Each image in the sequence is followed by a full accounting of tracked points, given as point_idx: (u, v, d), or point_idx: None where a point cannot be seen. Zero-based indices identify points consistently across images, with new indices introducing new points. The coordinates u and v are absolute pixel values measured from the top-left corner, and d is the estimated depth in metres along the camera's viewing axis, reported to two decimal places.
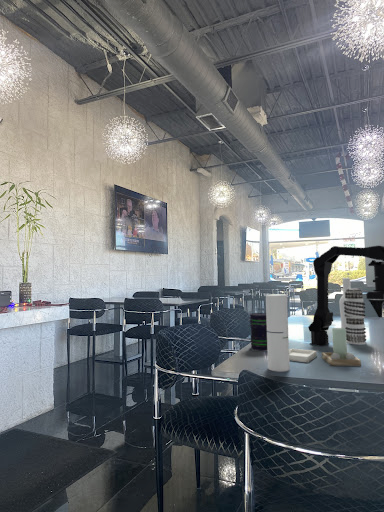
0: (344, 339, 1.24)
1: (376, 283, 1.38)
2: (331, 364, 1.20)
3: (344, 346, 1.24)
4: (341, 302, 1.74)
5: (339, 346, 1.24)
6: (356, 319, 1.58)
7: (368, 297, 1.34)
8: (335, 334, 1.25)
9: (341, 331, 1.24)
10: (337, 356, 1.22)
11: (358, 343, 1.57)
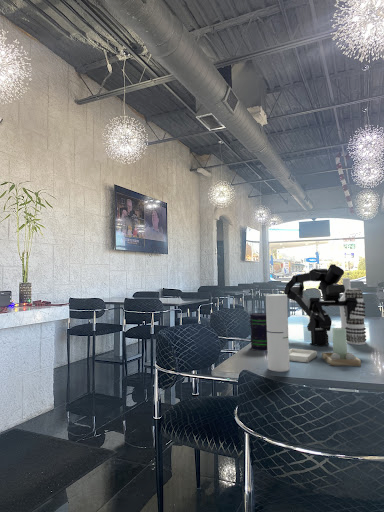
0: (344, 339, 1.24)
1: None
2: (331, 364, 1.20)
3: (344, 346, 1.24)
4: None
5: (339, 346, 1.24)
6: (356, 319, 1.58)
7: (308, 308, 1.47)
8: (335, 334, 1.25)
9: (341, 331, 1.24)
10: (337, 356, 1.22)
11: (358, 343, 1.57)
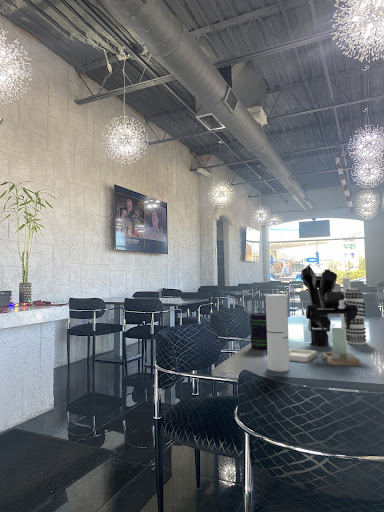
0: (344, 339, 1.24)
1: None
2: (331, 364, 1.20)
3: (344, 346, 1.24)
4: (341, 302, 1.74)
5: (339, 346, 1.24)
6: (356, 319, 1.58)
7: (306, 316, 1.39)
8: (335, 334, 1.25)
9: (341, 331, 1.24)
10: (337, 356, 1.22)
11: (358, 343, 1.57)
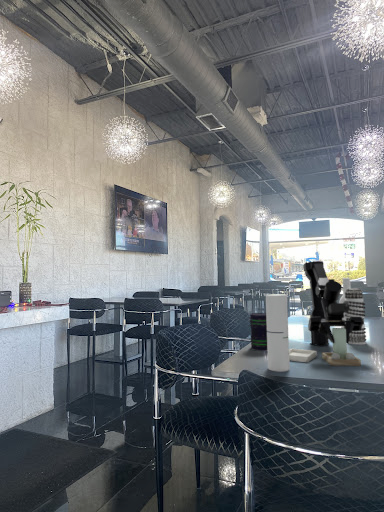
0: (344, 339, 1.24)
1: None
2: (331, 364, 1.20)
3: (344, 346, 1.24)
4: (341, 302, 1.74)
5: (339, 346, 1.24)
6: None
7: (309, 328, 1.33)
8: (335, 334, 1.25)
9: (341, 331, 1.24)
10: (337, 356, 1.22)
11: (358, 343, 1.57)
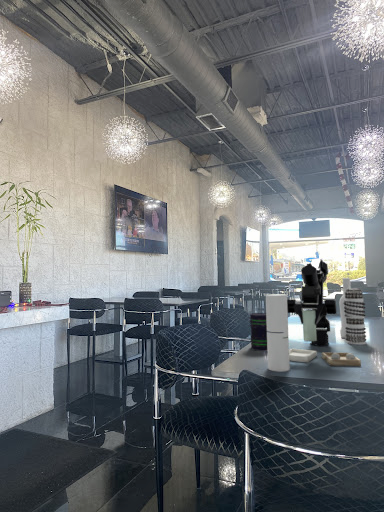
0: (311, 320, 1.29)
1: None
2: (331, 364, 1.20)
3: (311, 327, 1.29)
4: (341, 302, 1.74)
5: (306, 327, 1.30)
6: (356, 319, 1.58)
7: None
8: (303, 315, 1.31)
9: (308, 312, 1.29)
10: (337, 356, 1.22)
11: (358, 343, 1.57)
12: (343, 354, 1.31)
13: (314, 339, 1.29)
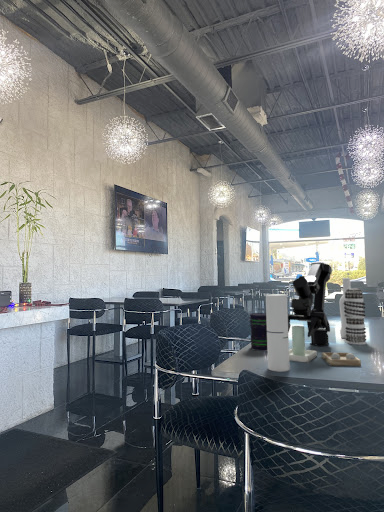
0: (299, 336, 1.31)
1: None
2: (331, 364, 1.20)
3: (299, 343, 1.31)
4: (341, 302, 1.74)
5: (294, 343, 1.32)
6: (356, 319, 1.58)
7: None
8: (292, 331, 1.33)
9: (296, 329, 1.32)
10: (337, 356, 1.22)
11: (358, 343, 1.57)
12: (343, 354, 1.31)
13: (302, 355, 1.31)
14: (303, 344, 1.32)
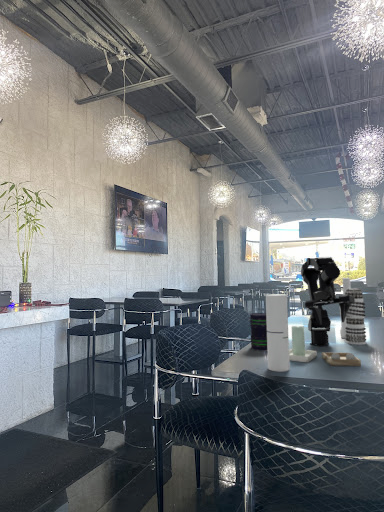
0: (299, 336, 1.31)
1: None
2: (331, 364, 1.20)
3: (299, 343, 1.31)
4: None
5: (294, 343, 1.32)
6: (356, 319, 1.58)
7: None
8: (292, 331, 1.34)
9: (296, 329, 1.32)
10: (337, 356, 1.22)
11: (358, 343, 1.57)
12: (343, 354, 1.31)
13: (302, 355, 1.31)
14: (303, 344, 1.32)
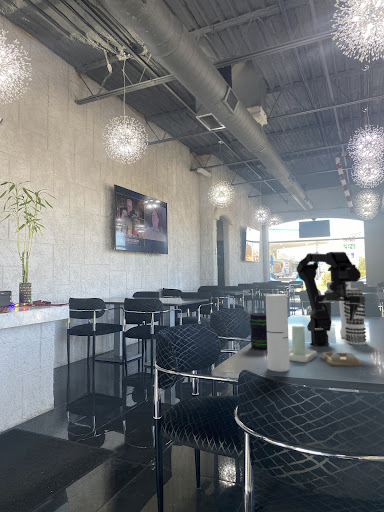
0: (299, 336, 1.31)
1: None
2: (331, 364, 1.20)
3: (299, 343, 1.31)
4: (341, 302, 1.74)
5: (294, 343, 1.32)
6: (356, 319, 1.58)
7: None
8: (292, 331, 1.33)
9: (296, 329, 1.32)
10: (337, 356, 1.22)
11: (358, 343, 1.57)
12: (343, 354, 1.31)
13: (302, 355, 1.31)
14: (303, 344, 1.32)
